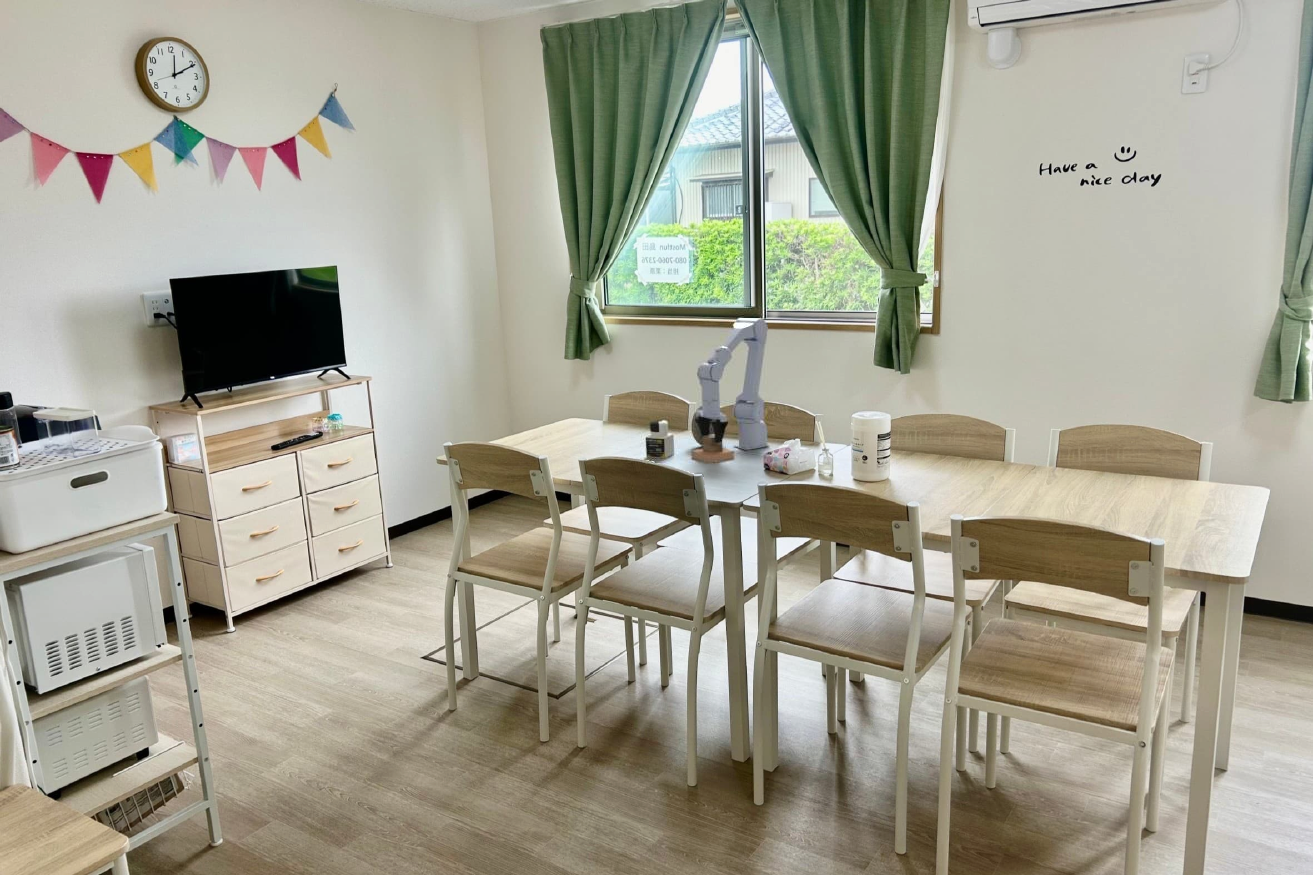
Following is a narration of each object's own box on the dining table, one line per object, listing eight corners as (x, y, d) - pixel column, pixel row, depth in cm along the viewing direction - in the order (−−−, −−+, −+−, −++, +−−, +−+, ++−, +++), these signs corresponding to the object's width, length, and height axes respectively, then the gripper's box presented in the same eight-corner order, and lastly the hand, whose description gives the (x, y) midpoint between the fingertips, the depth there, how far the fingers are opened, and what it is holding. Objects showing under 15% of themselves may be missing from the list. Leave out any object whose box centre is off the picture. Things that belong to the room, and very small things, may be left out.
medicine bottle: (646, 457, 321) (644, 422, 319) (656, 452, 328) (654, 418, 325) (665, 458, 318) (663, 423, 316) (674, 454, 324) (673, 419, 322)
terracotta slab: (716, 454, 323) (716, 446, 322) (734, 459, 314) (733, 451, 314) (691, 459, 318) (691, 450, 317) (708, 464, 309) (708, 455, 309)
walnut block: (714, 448, 319) (713, 433, 318) (722, 450, 315) (722, 436, 314) (703, 450, 316) (702, 436, 315) (711, 453, 312) (710, 438, 311)
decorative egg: (724, 450, 326) (722, 407, 323) (690, 450, 328) (688, 407, 325) (727, 443, 338) (725, 401, 335) (694, 443, 340) (692, 401, 337)
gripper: (688, 398, 316) (689, 438, 319) (713, 403, 304) (715, 445, 307) (705, 396, 320) (707, 435, 322) (731, 401, 308) (732, 442, 310)
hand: (712, 440), depth 315 cm, fingers open, 7 cm apart
